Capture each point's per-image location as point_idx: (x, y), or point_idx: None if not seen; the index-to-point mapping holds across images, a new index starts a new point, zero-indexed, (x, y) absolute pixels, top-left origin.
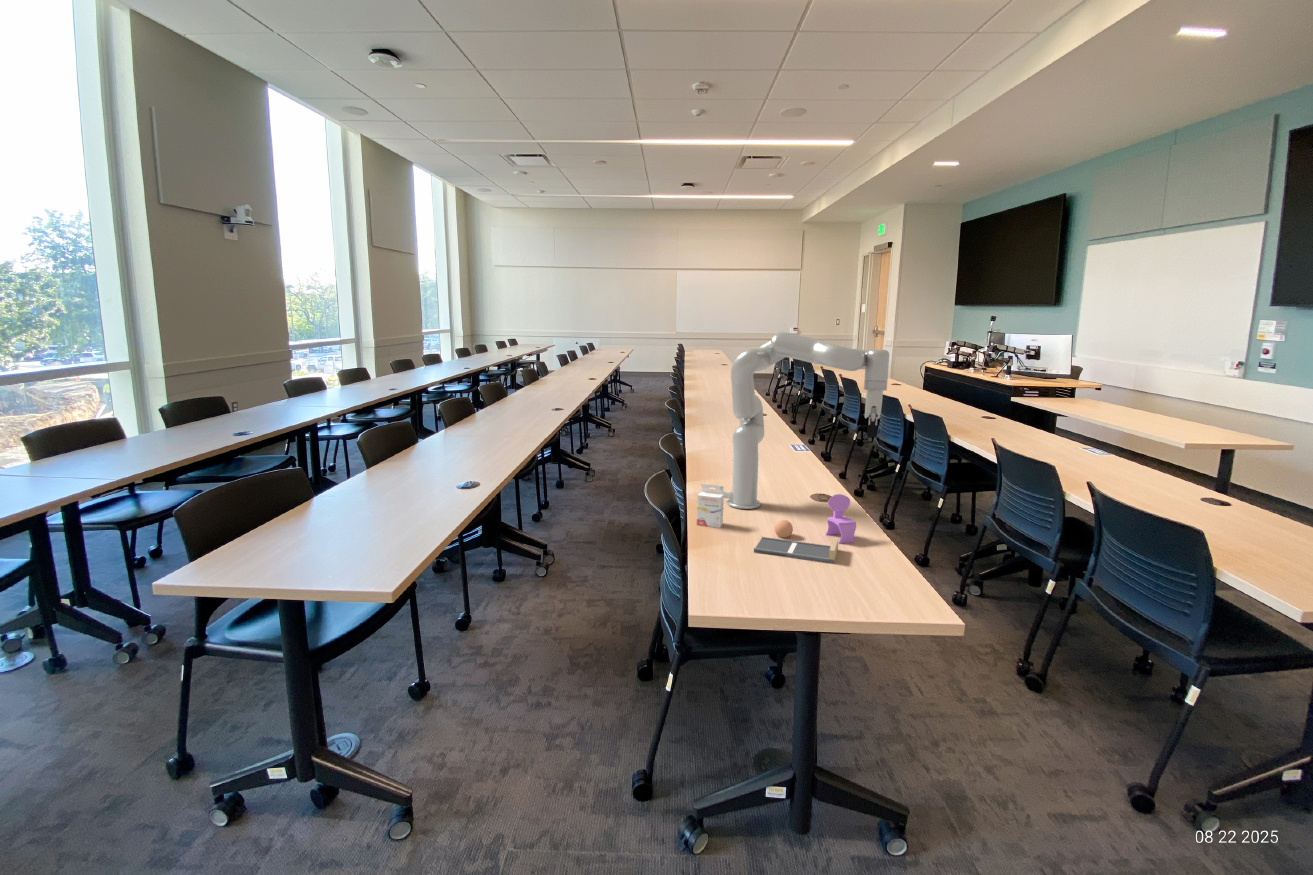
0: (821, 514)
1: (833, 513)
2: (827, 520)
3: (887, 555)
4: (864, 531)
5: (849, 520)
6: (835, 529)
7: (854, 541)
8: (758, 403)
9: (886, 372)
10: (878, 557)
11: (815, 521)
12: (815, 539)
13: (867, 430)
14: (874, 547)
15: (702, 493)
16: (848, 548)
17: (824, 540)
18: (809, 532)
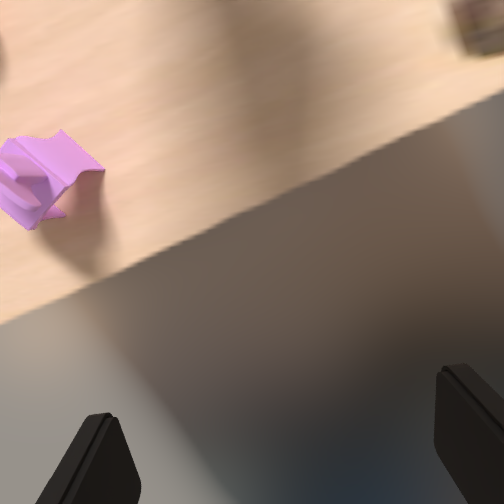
0: (281, 60)
1: (14, 154)
2: (19, 136)
3: (33, 296)
4: (179, 220)
5: (23, 211)
6: (71, 158)
7: (58, 217)
8: None
9: None
10: (5, 281)
11: (191, 62)
12: (19, 111)
13: (52, 482)
14: (67, 263)
15: None
16: None
17: None
18: (68, 75)
